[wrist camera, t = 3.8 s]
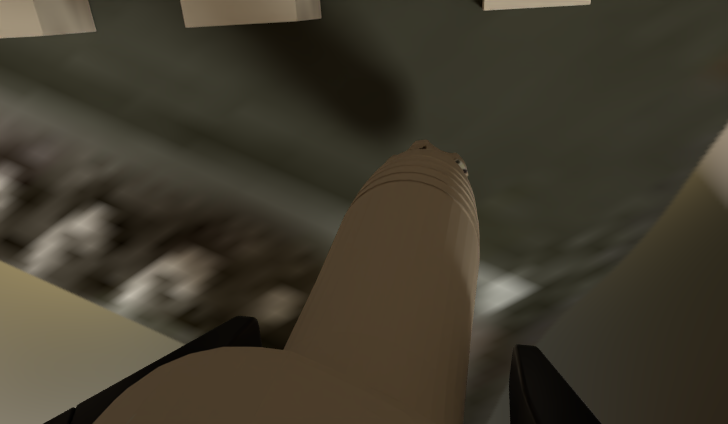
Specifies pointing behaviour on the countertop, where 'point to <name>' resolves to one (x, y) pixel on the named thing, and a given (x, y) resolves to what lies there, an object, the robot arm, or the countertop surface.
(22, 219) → the countertop surface
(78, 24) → the notched rail
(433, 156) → the handle
